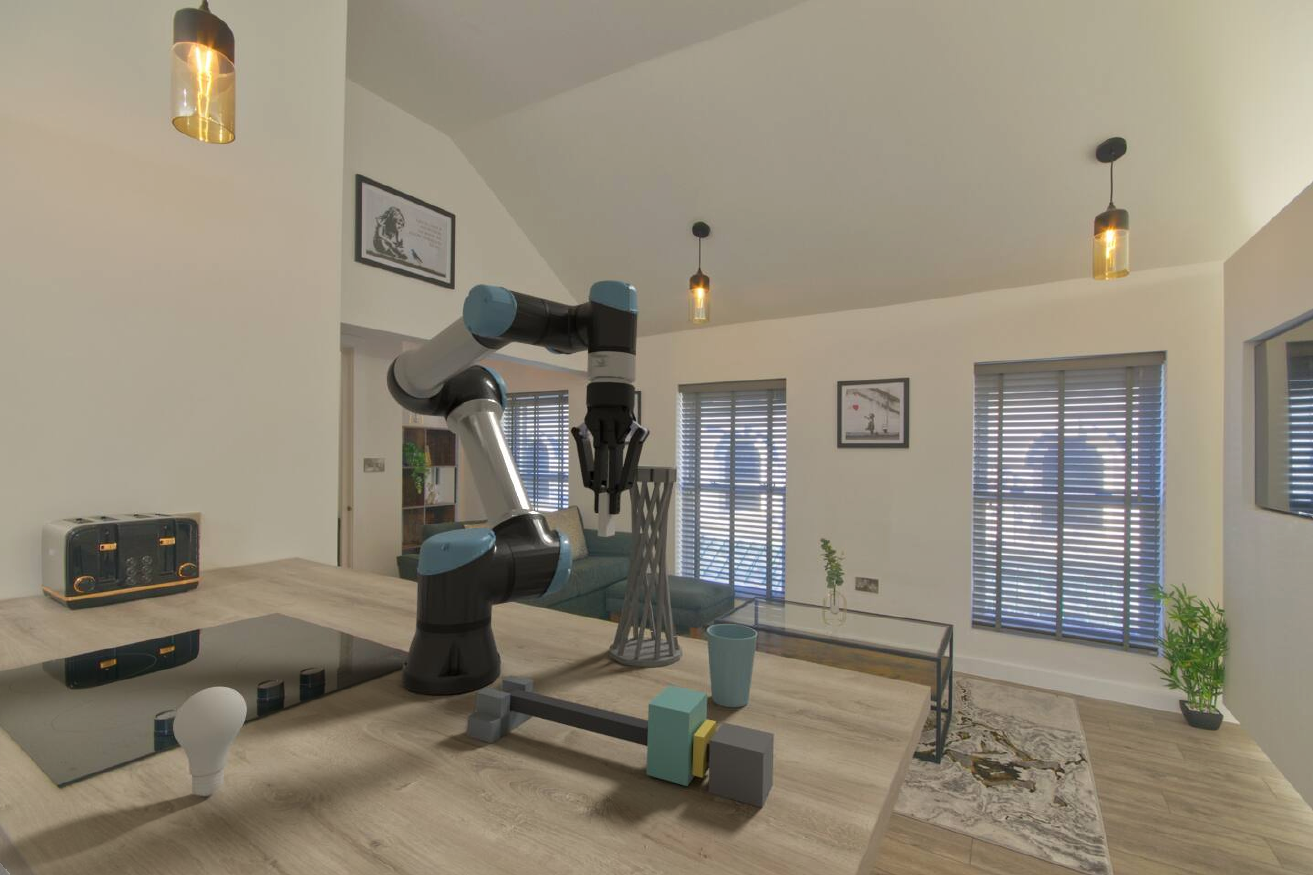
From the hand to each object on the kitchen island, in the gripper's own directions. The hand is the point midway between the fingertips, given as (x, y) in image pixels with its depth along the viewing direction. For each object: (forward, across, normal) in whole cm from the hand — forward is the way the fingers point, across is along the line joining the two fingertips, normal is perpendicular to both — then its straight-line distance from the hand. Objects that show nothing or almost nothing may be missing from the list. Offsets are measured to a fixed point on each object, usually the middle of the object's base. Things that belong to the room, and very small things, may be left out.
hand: (606, 535), depth 88 cm
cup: (+25, +18, +8) cm, 32 cm away
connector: (+24, +26, -14) cm, 38 cm away
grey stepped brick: (+24, -7, -14) cm, 29 cm away
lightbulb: (+25, -24, -41) cm, 54 cm away
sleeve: (+24, +18, -14) cm, 34 cm away
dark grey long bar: (+23, +11, -14) cm, 29 cm away
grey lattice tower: (+25, -2, +20) cm, 32 cm away
